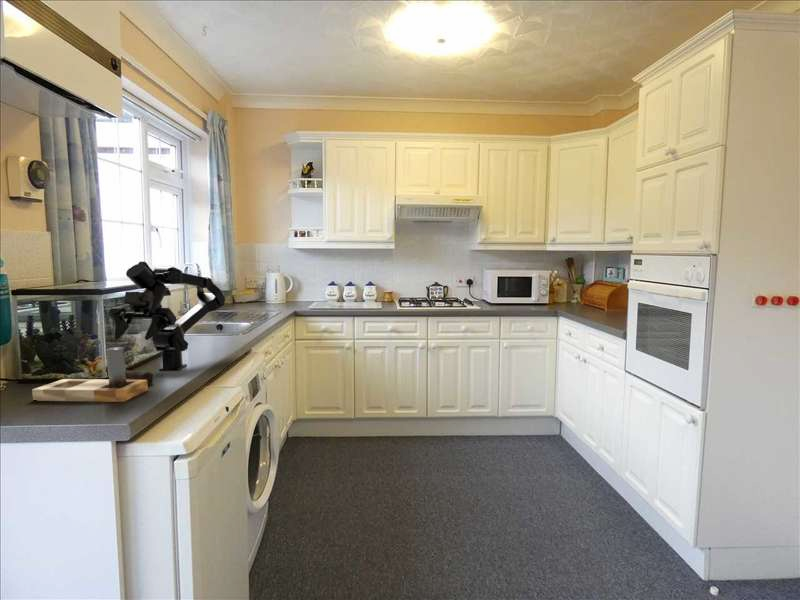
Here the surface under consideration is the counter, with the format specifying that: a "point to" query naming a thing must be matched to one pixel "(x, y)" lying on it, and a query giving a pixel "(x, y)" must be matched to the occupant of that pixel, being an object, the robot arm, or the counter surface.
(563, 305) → the counter surface
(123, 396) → the rail board
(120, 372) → the steel peg
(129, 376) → the brown rough long piece
